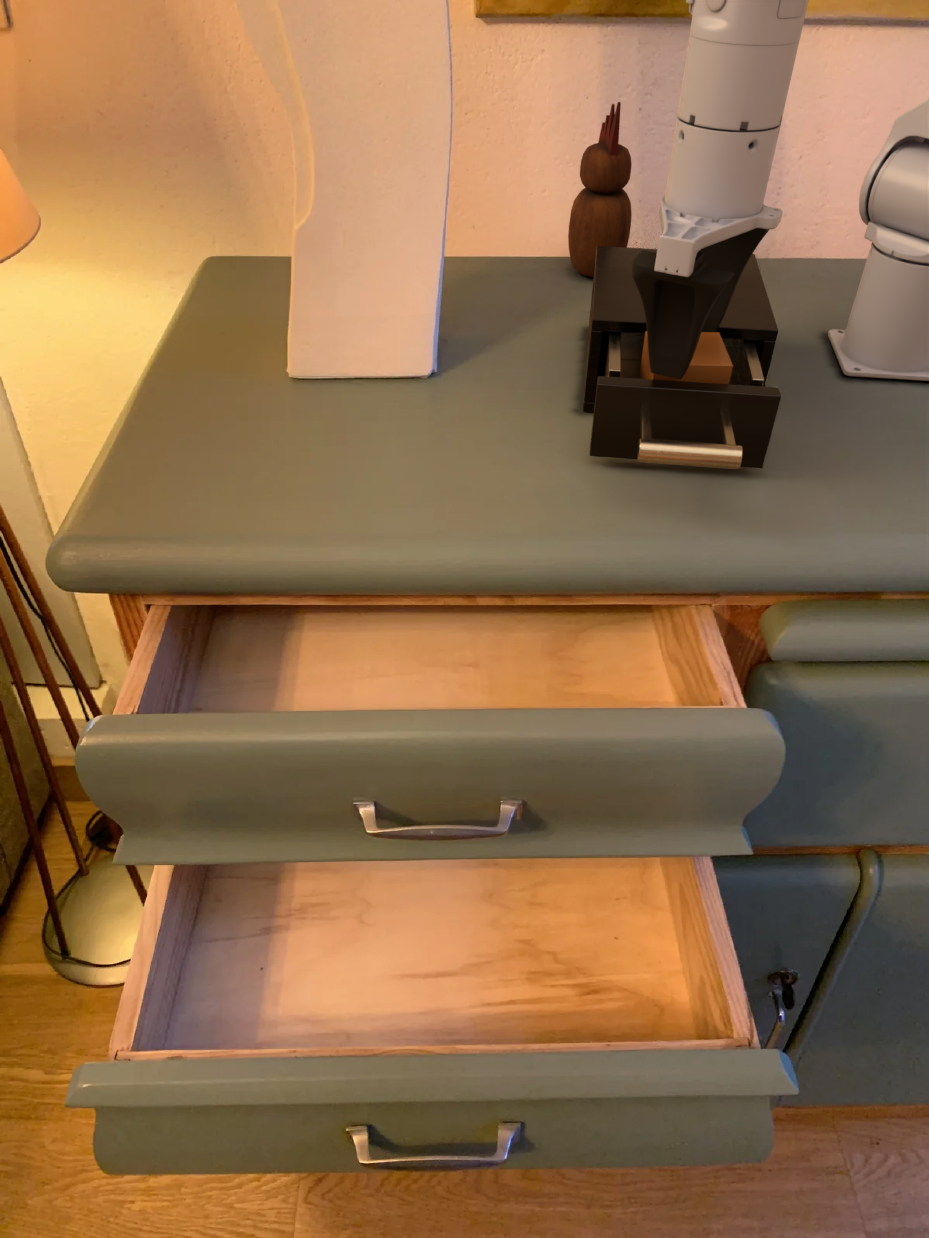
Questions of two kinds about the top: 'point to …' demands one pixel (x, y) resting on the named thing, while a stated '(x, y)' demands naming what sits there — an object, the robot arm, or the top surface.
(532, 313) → the top surface
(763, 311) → the dark drawer cabinet
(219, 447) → the top surface
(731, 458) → the black drawer
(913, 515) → the top surface
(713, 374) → the block
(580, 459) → the top surface
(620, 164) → the wooden figurine
